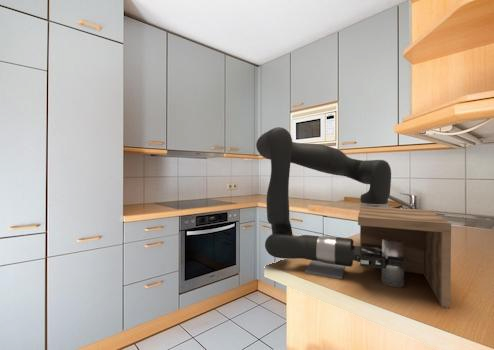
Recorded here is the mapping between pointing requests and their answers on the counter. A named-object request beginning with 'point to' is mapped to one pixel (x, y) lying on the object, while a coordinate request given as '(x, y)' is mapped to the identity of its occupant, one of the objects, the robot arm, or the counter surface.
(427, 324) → the counter surface
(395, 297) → the counter surface
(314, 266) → the rubber mat
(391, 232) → the walnut desk
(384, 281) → the steel tin
